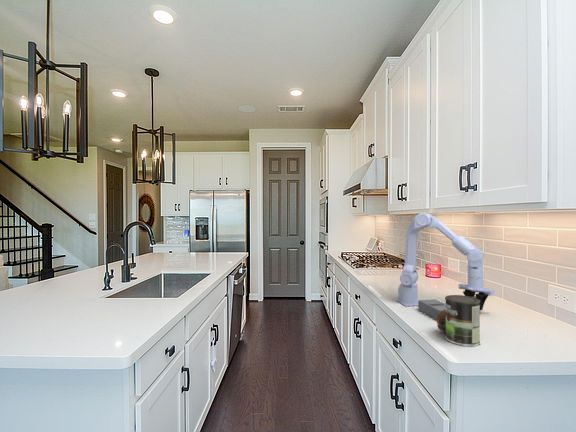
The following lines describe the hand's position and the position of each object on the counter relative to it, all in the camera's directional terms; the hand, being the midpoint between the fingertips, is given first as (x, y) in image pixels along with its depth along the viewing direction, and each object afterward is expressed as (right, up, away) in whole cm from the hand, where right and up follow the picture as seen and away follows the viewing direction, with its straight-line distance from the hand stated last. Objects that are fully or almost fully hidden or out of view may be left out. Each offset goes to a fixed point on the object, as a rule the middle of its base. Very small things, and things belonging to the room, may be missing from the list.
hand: (475, 308), depth 135 cm
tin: (-19, -3, -20) cm, 28 cm away
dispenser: (-17, -2, -2) cm, 18 cm away
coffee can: (-21, -3, -29) cm, 36 cm away
